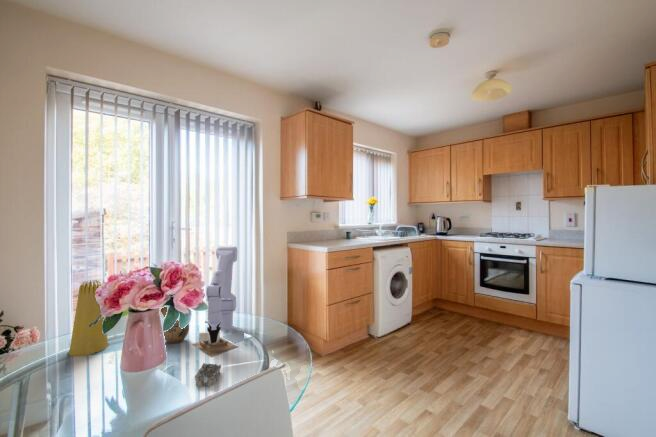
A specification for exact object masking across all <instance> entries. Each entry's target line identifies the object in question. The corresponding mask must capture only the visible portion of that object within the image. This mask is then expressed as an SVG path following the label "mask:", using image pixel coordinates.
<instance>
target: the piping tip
mask: <svg viewBox="0 0 656 437" xmlns="http://www.w3.org/2000/svg"><path fill="white" fill-rule="evenodd" d="M101 285H102V286H103V284H102V283H101V282H100V281H99V280H96V279H94V280H91V279H90V281H89V280H87V281H84V282H82V283H81V284H80V285H79V288H78V294H77V299H76V300H77V301H76V306H75V307H76V308H75V315H74V320H73V321H74V322H73V326H72V334H71V340H70V346H69V350H68V355H69V356H72V357H83V356H84V357H85V356H89V355H93V354H96V353H95V352H97V353H99V352H102V351H104V350H105V348H106V347H107V348H108V347H109V339H108V333H107V334H105V335H104V334H103V333H102V322H103V319H104V317H102V318H100V320H99V321H98V323H96V324H95V325H93V326H91V327H89V325H90V324H91V323H93V322H94V321H95V320H96V319H97V318H98V317H99V315H100V313H101V310H100V305H99V304H98V303H97V301H96V298H95V291H96V289H97V288H98V287H99V286H101ZM107 348H106V349H107ZM103 349H104V350H103ZM101 350H102V351H101ZM92 353H93V354H92Z"/></svg>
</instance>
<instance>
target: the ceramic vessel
mask: <svg viewBox="0 0 656 437" xmlns="http://www.w3.org/2000/svg"><path fill="white" fill-rule="evenodd" d="M166 312H167V307H164V308H162V309H161V311H160V313H161V314H162V316H163V318H164V317H165V315H166ZM189 332H190V323H189V324H188V325H187V326H186V327H185V328H183V329H181V328H180V327H179V321H178V320H177V321H176V323H175V324H174V326H173V327H172V328H171V329H169V330H168V331H166V332H164V336H165V339H164V341H165V342H167V343H170V344H178V343H181V342H183V341H184V340H185V339H186V337H187V336H188V335H189Z"/></svg>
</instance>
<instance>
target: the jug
mask: <svg viewBox="0 0 656 437" xmlns="http://www.w3.org/2000/svg"><path fill="white" fill-rule="evenodd" d="M220 335H221V332H220V331H219V333H218V337H217V341H216V343H211V340H210V335H209V332H208V330H207V331H199V333H198V342H202V341H208V345H209V346H210V347H211V346H213V345H216V344H219V343H220V337H221V336H220Z"/></svg>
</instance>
